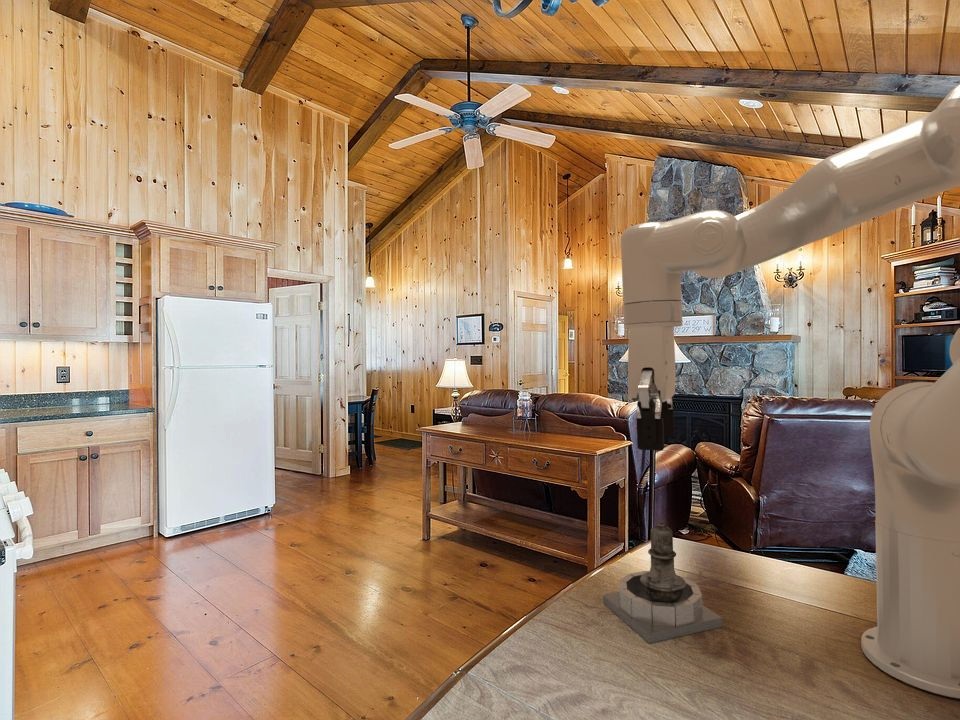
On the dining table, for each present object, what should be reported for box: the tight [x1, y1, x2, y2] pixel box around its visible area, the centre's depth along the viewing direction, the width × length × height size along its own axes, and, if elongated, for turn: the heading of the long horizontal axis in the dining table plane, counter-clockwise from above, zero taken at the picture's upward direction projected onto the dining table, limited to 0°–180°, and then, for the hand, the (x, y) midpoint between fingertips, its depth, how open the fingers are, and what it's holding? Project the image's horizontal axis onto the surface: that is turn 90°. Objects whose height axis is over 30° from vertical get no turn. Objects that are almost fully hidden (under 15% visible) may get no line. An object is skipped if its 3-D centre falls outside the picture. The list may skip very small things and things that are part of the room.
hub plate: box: [602, 570, 723, 644], centre depth 72 cm, size 11×11×4 cm
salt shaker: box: [640, 518, 686, 603], centre depth 71 cm, size 6×6×12 cm
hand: (657, 442), depth 71 cm, fingers open, 9 cm apart
